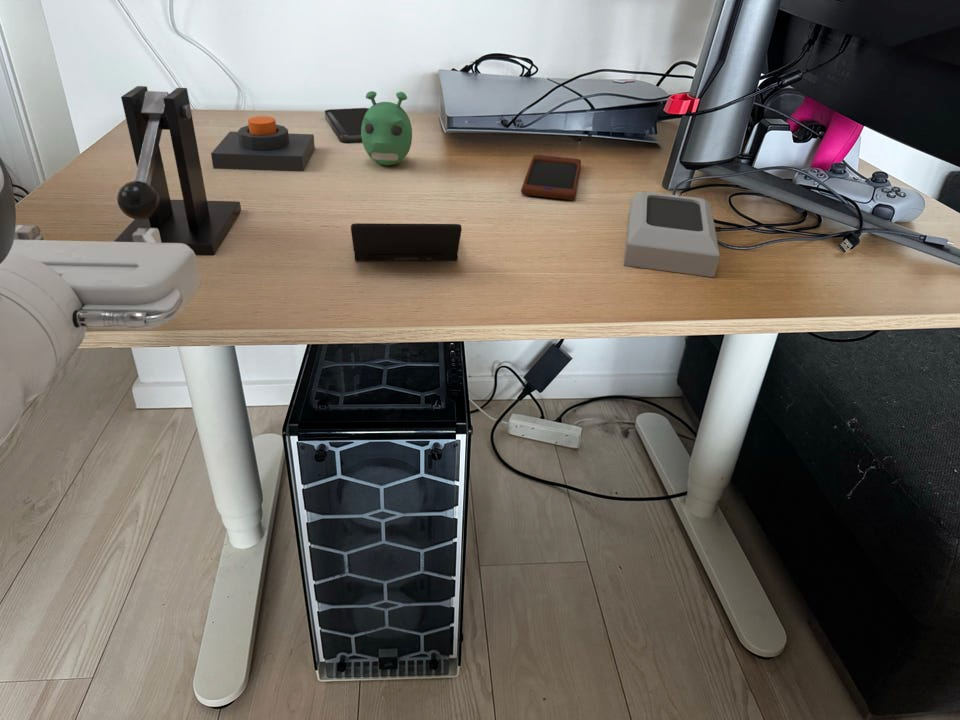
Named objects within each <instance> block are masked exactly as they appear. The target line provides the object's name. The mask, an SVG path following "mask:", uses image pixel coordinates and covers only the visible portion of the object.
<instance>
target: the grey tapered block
mask: <svg viewBox="0 0 960 720" xmlns="http://www.w3.org/2000/svg"><path fill="white" fill-rule="evenodd" d="M712 209H713V208H712V206H711V204H710V202H709V201H708V200H706V199H705V198H701V197H693V196H685V195H677V194H676V195H675V194H668V193H660V192H651V191H640V192H636V193H635V194H633V195H632V197H631V198H630V205H629V211H628V217H627V230H626V238H625V239H626V240H625V250H624V260H623V266H627V267H628V266H629V267H633V268H640V269H641V268H642V269H649V270H657V271H664V272H672V273H678V274H687V275H692V276H693V275H694V276H701V277H709V278H715V276H716V273H717V268H718V266H719V265H718V264H719V262H720V257H721V255H720V250H719V244H718V239H717V238H718V237H717V231H716V227H715V226H716V225H715V220H714V213H713V210H712Z"/></svg>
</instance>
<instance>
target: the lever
mask: <svg viewBox="0 0 960 720" xmlns="http://www.w3.org/2000/svg"><path fill="white" fill-rule="evenodd" d="M169 94H170V93H169V92H168V91H156V90H155V91H154V90H148V91H146V92H145V97H144V101H143V105H142V109H141V114H142V116H143V118H144V120H145V121H146V123H147V128H146V133H145V137H144V141H143V146H142V150H141V155H140V159H139V163H138V168H137V167H136V172H135V177H134V180H132V181H131V180H130V181H127V182H126V183H124V184H123V185H122V186H121V187H120V188H119V190H118V192H117V196H116V201H117V205H118V208H119V209H120V211H121V212H122V213H123V214H124V215H125V216H127V217H128V218H130V219H132V220H134V219H136V220H144V219H148V218H150V217H152V216H153V215H154V214H155V213H156V212H157V210H158V207H159V197H158V194H157V192H156V191H155V190H154V188H153V187H151V186H150V184H151V179H152V175H153V170H154V165H155V161H156V156H157V152H158V147H160V142H161V138H162V133H163V130H164V131H165V130H166V131H170V130H169V125H168V120H167V114H166V109H165V104H164V98H165V97H166V96H167V95H169Z"/></svg>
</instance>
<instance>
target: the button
mask: <svg viewBox="0 0 960 720" xmlns="http://www.w3.org/2000/svg"><path fill="white" fill-rule="evenodd" d="M247 123H248V125H249V132H250V133H251V134H255V135H268V134H274V133H276V132H277V130H276V125H277V123H276V118H275V117H271V116H266V115H265V116H264V115H261V116H259V115H258V116H252V117H250V118H248V120H247ZM248 125H247V126H248Z"/></svg>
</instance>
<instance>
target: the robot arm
mask: <svg viewBox="0 0 960 720" xmlns="http://www.w3.org/2000/svg"><path fill="white" fill-rule="evenodd" d="M8 172H9V171H8V170H7V167H6V165H5V163H4V161H3V159H2V157H0V446H2V445H3V443H4V442H5V441H6V440H7V438H8V437H9V436H10V435H11V433H12V432H13V431H14V430H15V428H16V427H17V425H18V423H19V422H20V420H21V417H22V415H23V411H24V408H25V405H26V404H27V403H29V402H30V401H33V400H34V399H36V398H37V397H38V396H40V395H41V394H42V393H43V392H44V391H45V390H46V389H47V388H48V387H49V385H50V384H51V383H52V381H53V380H54V379H55V378H56V377H57V375H58V374H59V373H60V372H61V371H62V369H63V368H64V367H65V366H66V364H67V363H68V361H69V360H70V359H71V357H72V356H73V355H74V354H75V353H76V351H77V350H78V349H79V347H81V344H82V343H83V341H84V338H85V336H86V332H87V331H86V330H94V329H95V330H148V329H149V330H150V329H154V328H158V327H161V326H162V325H164V324H167V323H169V322H170V321H171V320H172V319H174V318H175V317H176V316H177V315H178V314H180V312H181V311H182V310H183V309H184V308H185V307H186V306H187V305H188V304H189V303H190V302H191V301H192V299H194V297H195V295H196V294H197V293H198V291H199V290H200V287H201V273H200V269H199V263H198V259H197V256H196V254H195V253H194V251H193V250H192V249H191V248H190V247H189V246H188V245H186V244H183V243H161V238H160V233H159V230H158V229H157V228H138V229H137V231H135V232H134V233H133V234H132V237H133V241H134V242H114V241H99V240H95V241H94V240H93V241H92V240H57V239H56V240H55V239H54V240H53V239H52V240H51V239H50V240H49V239H44V237H43V235H41V228H40V226H39V225H28V224H17V213H16V212H17V211H16V200H15V199H16V198H15V193H14V189H13V184H12V181H11V177H10V175H9V173H8ZM16 224H17V225H16Z"/></svg>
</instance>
